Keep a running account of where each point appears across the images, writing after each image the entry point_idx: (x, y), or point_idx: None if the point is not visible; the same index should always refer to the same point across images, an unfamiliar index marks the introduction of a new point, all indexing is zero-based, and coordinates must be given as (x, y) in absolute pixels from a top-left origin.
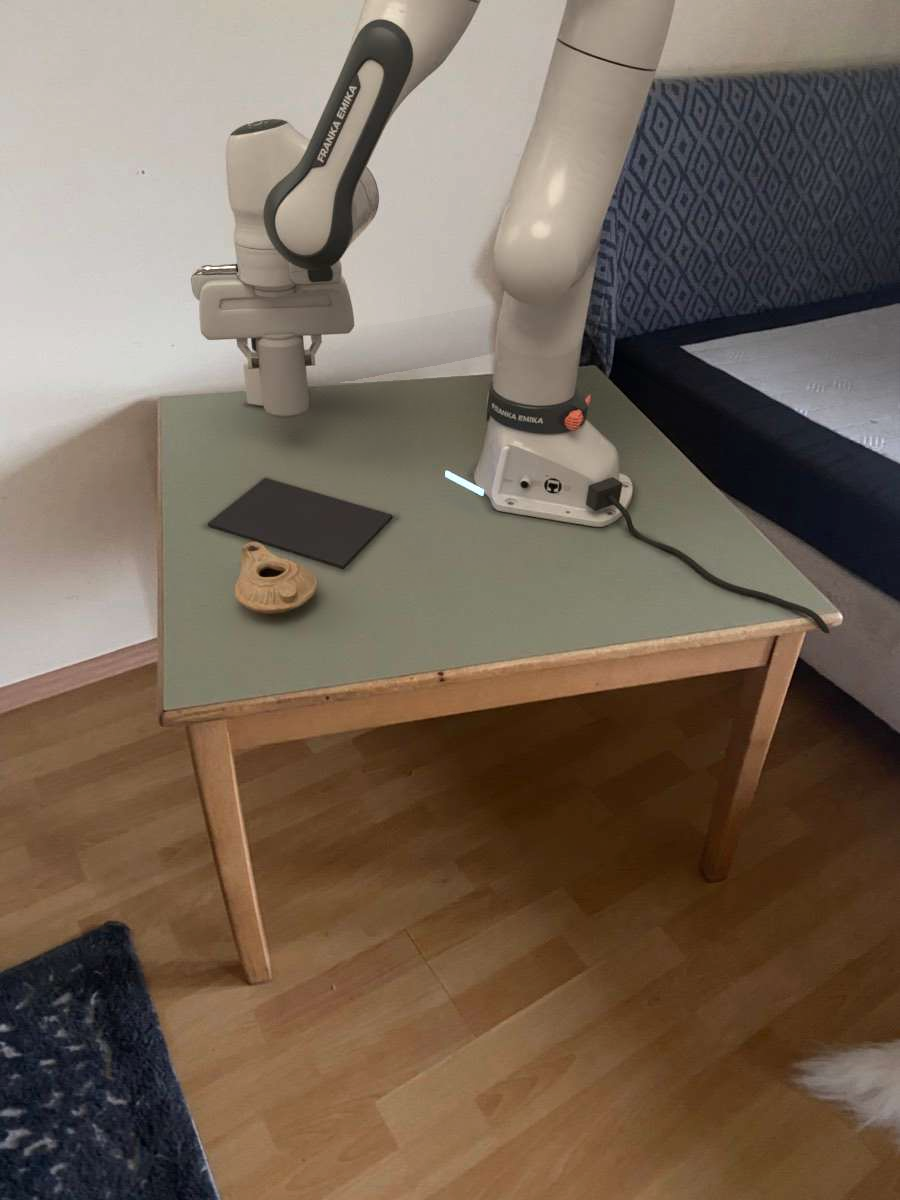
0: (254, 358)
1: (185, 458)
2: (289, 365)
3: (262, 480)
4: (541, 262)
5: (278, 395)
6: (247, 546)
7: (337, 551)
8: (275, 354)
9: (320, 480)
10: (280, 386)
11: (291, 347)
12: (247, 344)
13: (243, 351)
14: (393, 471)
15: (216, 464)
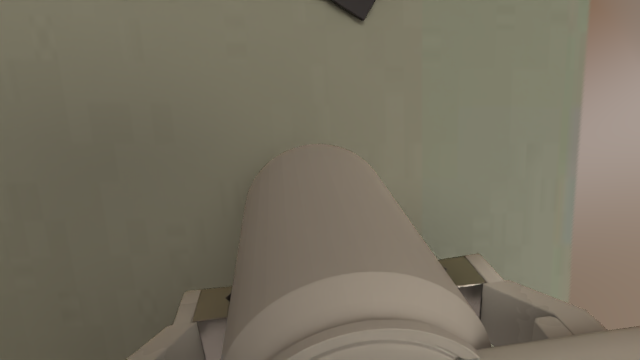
0: (468, 281)
1: (541, 132)
2: (297, 227)
3: (369, 4)
4: None
5: (343, 167)
6: None
7: None
8: (375, 247)
9: (222, 19)
10: (337, 177)
11: (280, 289)
12: (536, 322)
13: (538, 294)
14: (32, 62)
15: (475, 104)
